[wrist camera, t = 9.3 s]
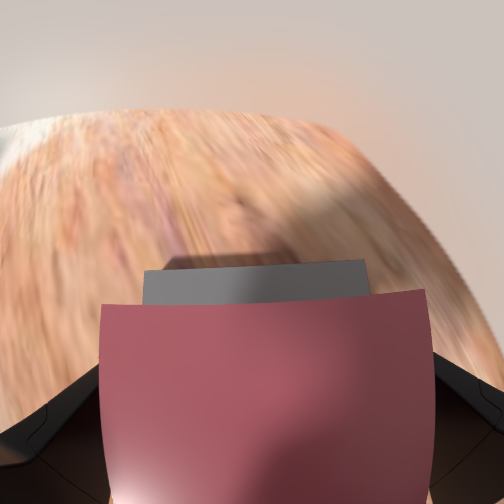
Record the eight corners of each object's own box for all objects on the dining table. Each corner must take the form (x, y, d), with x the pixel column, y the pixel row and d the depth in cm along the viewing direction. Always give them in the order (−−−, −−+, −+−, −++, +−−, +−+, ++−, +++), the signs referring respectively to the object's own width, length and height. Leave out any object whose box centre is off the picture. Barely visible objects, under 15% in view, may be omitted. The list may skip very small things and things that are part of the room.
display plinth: (369, 462, 14) (379, 470, 12) (160, 474, 14) (151, 483, 12) (355, 269, 20) (364, 259, 18) (154, 279, 20) (144, 270, 18)
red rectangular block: (308, 415, 14) (423, 513, 2) (216, 419, 14) (120, 531, 2) (305, 344, 16) (424, 289, 4) (214, 348, 16) (102, 303, 4)
